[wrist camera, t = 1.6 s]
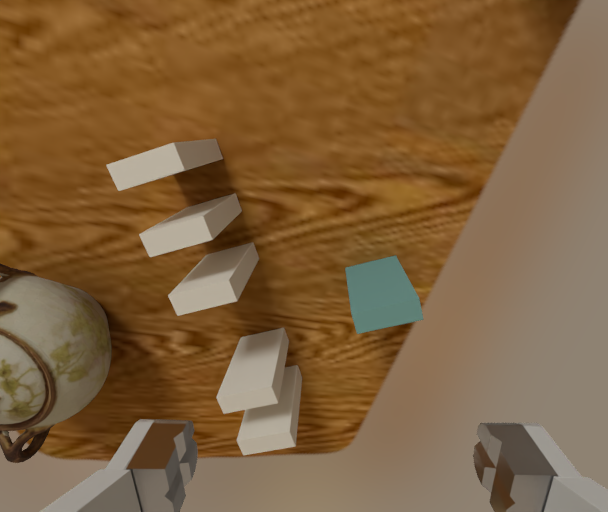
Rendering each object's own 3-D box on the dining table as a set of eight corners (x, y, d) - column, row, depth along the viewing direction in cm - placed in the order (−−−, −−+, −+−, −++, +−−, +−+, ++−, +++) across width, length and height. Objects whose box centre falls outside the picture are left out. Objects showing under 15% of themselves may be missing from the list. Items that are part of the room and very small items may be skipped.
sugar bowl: (-20, 230, 35) (-252, 297, 21) (122, 233, 34) (-21, 306, 20) (31, 385, 42) (-117, 515, 28) (151, 392, 41) (59, 528, 27)
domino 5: (297, 365, 38) (289, 431, 30) (302, 377, 39) (295, 446, 30) (255, 373, 39) (236, 440, 31) (261, 386, 40) (243, 455, 31)
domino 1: (215, 138, 30) (173, 142, 22) (223, 159, 31) (184, 170, 23) (165, 155, 31) (106, 165, 23) (173, 174, 32) (118, 191, 23)
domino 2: (235, 192, 32) (202, 215, 24) (242, 211, 33) (212, 239, 24) (187, 207, 33) (138, 234, 24) (194, 224, 33) (149, 257, 25)
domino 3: (253, 242, 34) (228, 279, 25) (259, 258, 34) (237, 301, 26) (206, 254, 34) (167, 295, 26) (213, 270, 35) (177, 315, 27)
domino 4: (284, 327, 37) (271, 386, 28) (289, 341, 37) (278, 403, 29) (240, 337, 38) (216, 397, 29) (246, 350, 38) (223, 413, 30)
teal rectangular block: (395, 255, 33) (419, 298, 25) (399, 271, 34) (423, 319, 25) (345, 267, 34) (351, 313, 26) (349, 283, 35) (357, 333, 26)
